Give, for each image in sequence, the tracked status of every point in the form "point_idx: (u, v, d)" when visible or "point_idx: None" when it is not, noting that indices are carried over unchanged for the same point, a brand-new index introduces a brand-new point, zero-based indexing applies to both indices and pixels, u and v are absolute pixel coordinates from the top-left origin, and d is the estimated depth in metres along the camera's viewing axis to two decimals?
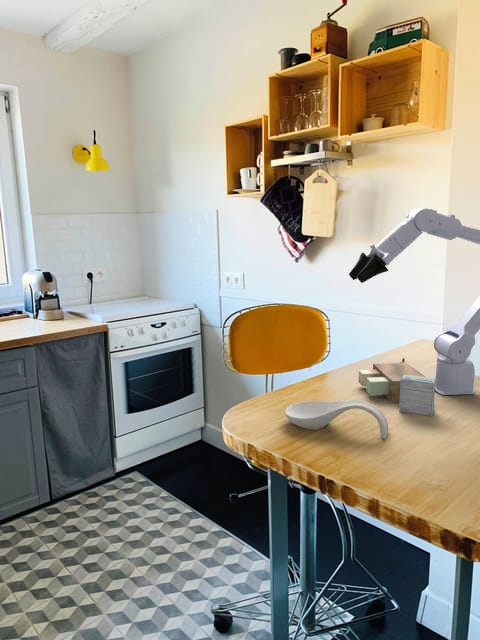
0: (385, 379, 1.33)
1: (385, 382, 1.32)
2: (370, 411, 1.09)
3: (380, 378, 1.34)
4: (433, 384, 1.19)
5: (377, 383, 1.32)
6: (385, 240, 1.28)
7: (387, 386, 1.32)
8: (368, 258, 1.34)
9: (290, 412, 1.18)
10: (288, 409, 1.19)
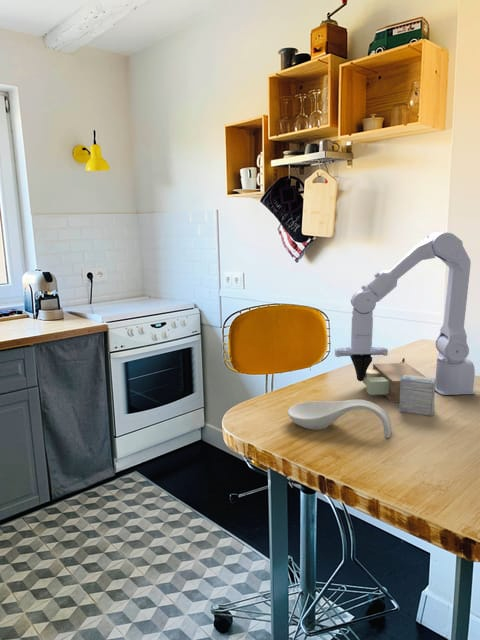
0: (385, 379, 1.33)
1: (385, 382, 1.32)
2: (374, 411, 1.09)
3: (380, 378, 1.34)
4: (433, 384, 1.19)
5: (377, 383, 1.32)
6: None
7: (387, 386, 1.32)
8: None
9: (293, 413, 1.18)
10: (291, 410, 1.18)
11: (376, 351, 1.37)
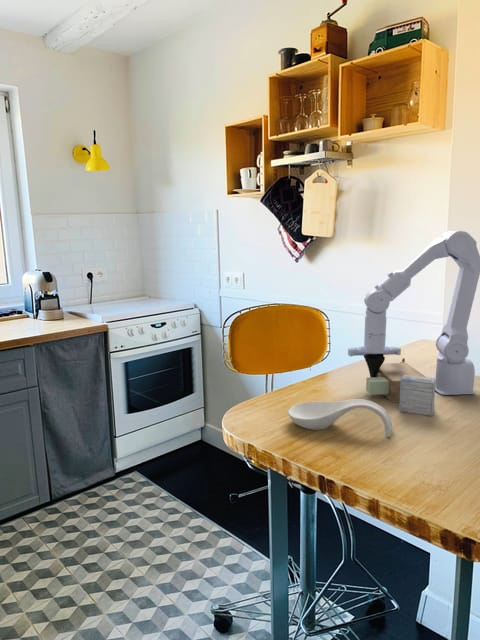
0: (385, 379, 1.33)
1: (385, 382, 1.32)
2: (375, 410, 1.09)
3: (380, 378, 1.34)
4: (433, 384, 1.19)
5: (377, 383, 1.32)
6: None
7: (387, 386, 1.32)
8: None
9: (293, 413, 1.18)
10: (291, 410, 1.18)
11: (389, 350, 1.37)
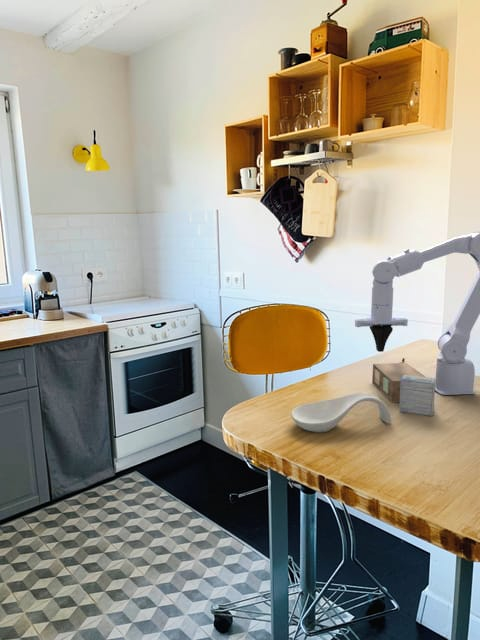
0: None
1: None
2: (377, 401, 1.15)
3: None
4: (433, 384, 1.19)
5: None
6: None
7: None
8: (380, 327, 1.41)
9: (297, 420, 1.14)
10: (295, 417, 1.14)
11: (396, 321, 1.38)
